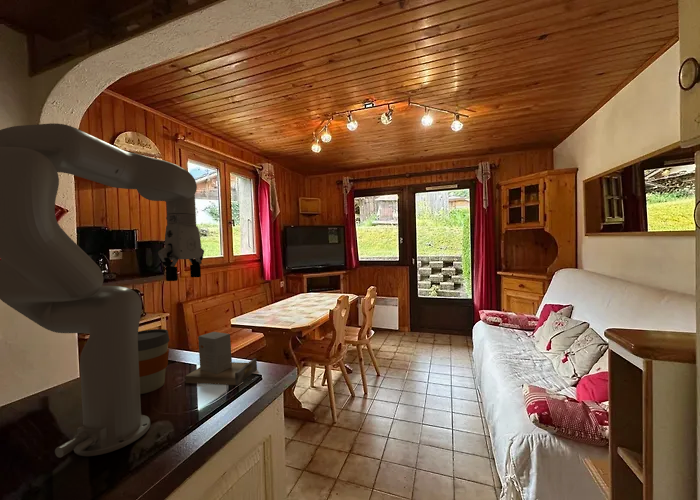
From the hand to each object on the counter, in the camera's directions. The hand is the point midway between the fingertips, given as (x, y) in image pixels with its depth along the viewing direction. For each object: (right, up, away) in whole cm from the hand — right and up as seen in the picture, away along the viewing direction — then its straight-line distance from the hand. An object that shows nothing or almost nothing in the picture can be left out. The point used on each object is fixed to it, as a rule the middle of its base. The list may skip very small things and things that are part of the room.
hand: (184, 278), depth 89 cm
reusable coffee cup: (-9, -31, -3) cm, 32 cm away
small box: (+8, -28, +3) cm, 29 cm away
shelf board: (+10, -30, +3) cm, 32 cm away
